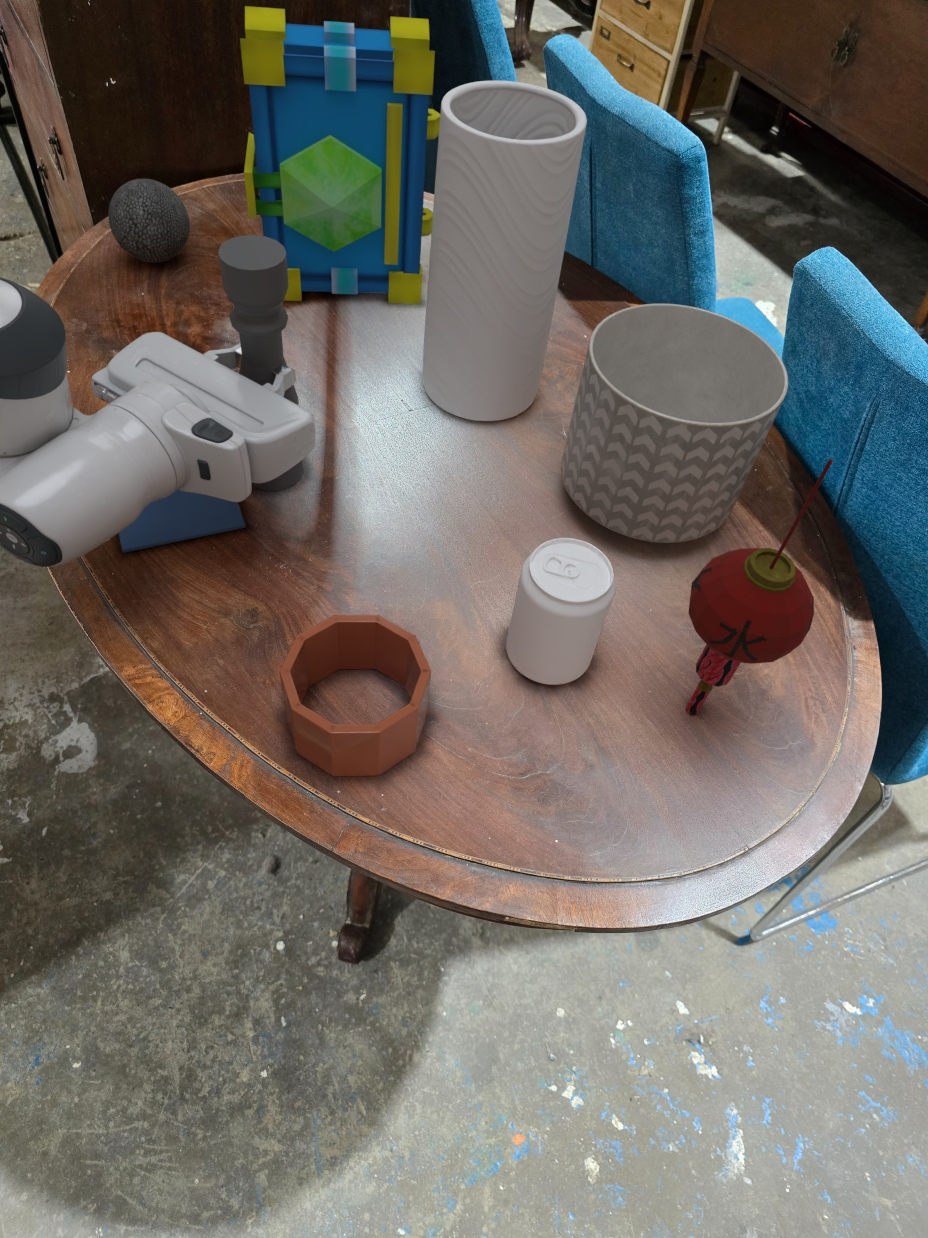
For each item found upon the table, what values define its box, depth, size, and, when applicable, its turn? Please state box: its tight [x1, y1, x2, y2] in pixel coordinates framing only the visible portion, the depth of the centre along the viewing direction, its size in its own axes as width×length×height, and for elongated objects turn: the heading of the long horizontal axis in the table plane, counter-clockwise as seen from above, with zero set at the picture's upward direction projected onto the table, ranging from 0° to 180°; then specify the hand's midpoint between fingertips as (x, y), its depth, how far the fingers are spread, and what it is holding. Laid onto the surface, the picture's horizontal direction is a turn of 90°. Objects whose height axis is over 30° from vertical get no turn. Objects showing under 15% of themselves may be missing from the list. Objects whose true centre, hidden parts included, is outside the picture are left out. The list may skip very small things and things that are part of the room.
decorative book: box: [239, 5, 441, 305], centre depth 105 cm, size 14×23×30 cm, turn 96°
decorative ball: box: [107, 178, 191, 263], centre depth 113 cm, size 10×10×10 cm
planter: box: [560, 303, 789, 544], centre depth 88 cm, size 19×19×18 cm
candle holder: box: [217, 234, 304, 492], centre depth 83 cm, size 6×6×25 cm
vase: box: [422, 80, 588, 422], centre depth 93 cm, size 14×14×32 cm
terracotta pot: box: [279, 614, 432, 777], centre depth 72 cm, size 12×12×7 cm
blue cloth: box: [118, 490, 246, 554], centre depth 89 cm, size 12×14×1 cm
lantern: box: [685, 458, 834, 717], centre depth 67 cm, size 10×10×30 cm
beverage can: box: [505, 537, 617, 686], centre depth 76 cm, size 8×8×12 cm
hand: (269, 361), depth 83 cm, fingers closed on candle holder, 4 cm apart
